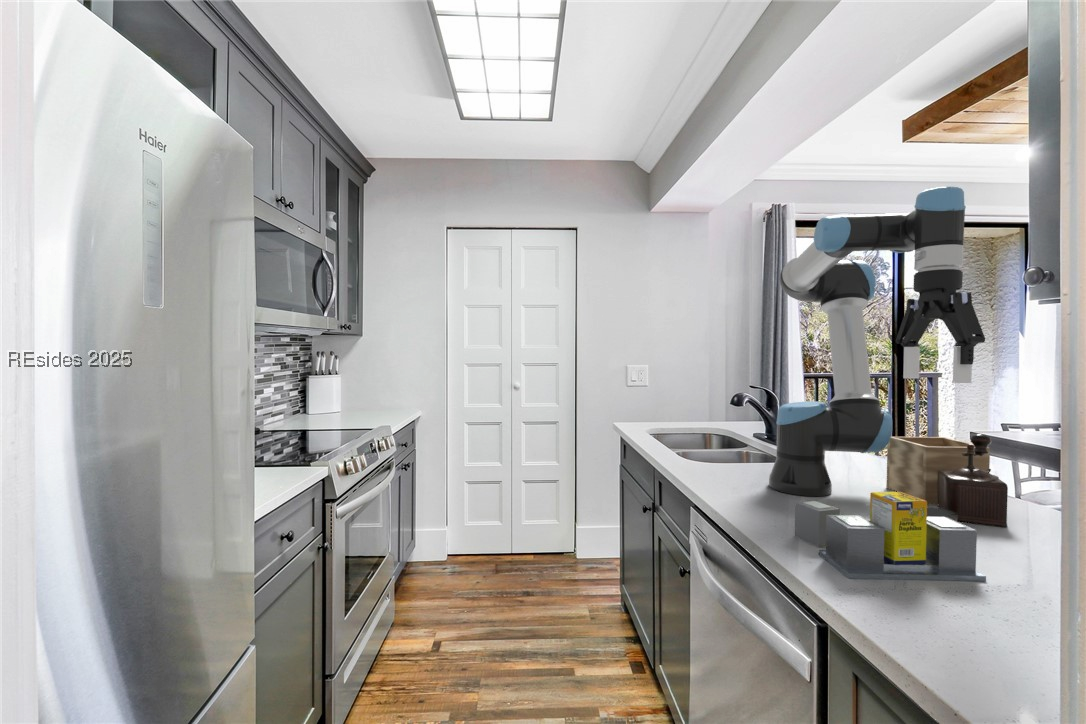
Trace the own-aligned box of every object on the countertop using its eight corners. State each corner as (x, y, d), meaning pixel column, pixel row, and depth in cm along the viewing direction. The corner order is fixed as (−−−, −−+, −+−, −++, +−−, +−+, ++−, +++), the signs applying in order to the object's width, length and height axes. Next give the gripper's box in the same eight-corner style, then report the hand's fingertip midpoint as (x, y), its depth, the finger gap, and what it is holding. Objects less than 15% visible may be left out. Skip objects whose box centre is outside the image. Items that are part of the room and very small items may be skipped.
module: (794, 536, 104) (795, 501, 104) (814, 534, 106) (814, 499, 106) (818, 547, 99) (819, 510, 98) (839, 544, 100) (839, 507, 100)
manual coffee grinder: (1012, 529, 110) (1015, 444, 109) (947, 521, 114) (949, 439, 114) (987, 508, 124) (989, 433, 123) (930, 502, 128) (932, 429, 128)
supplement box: (926, 565, 87) (928, 500, 87) (893, 566, 87) (895, 501, 87) (899, 551, 93) (901, 490, 93) (868, 552, 93) (869, 491, 93)
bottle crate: (886, 487, 142) (887, 436, 141) (942, 488, 141) (944, 437, 141) (925, 504, 127) (926, 447, 126) (988, 505, 126) (990, 447, 126)
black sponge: (926, 543, 102) (927, 525, 102) (879, 530, 109) (880, 513, 109) (960, 528, 111) (961, 511, 110) (915, 517, 118) (916, 501, 118)
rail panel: (818, 554, 95) (819, 511, 95) (941, 556, 95) (942, 512, 94) (848, 578, 85) (849, 530, 85) (986, 581, 85) (987, 532, 84)
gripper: (878, 279, 113) (876, 376, 113) (968, 259, 88) (965, 384, 88) (913, 279, 112) (911, 376, 113) (1014, 259, 87) (1010, 385, 88)
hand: (934, 380), depth 101 cm, fingers open, 13 cm apart
